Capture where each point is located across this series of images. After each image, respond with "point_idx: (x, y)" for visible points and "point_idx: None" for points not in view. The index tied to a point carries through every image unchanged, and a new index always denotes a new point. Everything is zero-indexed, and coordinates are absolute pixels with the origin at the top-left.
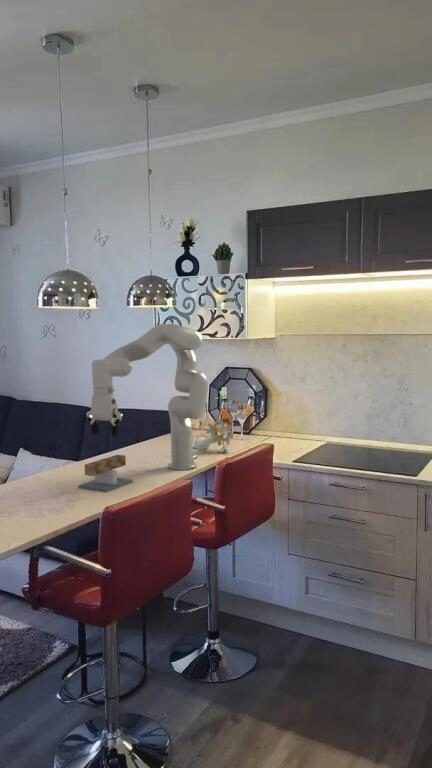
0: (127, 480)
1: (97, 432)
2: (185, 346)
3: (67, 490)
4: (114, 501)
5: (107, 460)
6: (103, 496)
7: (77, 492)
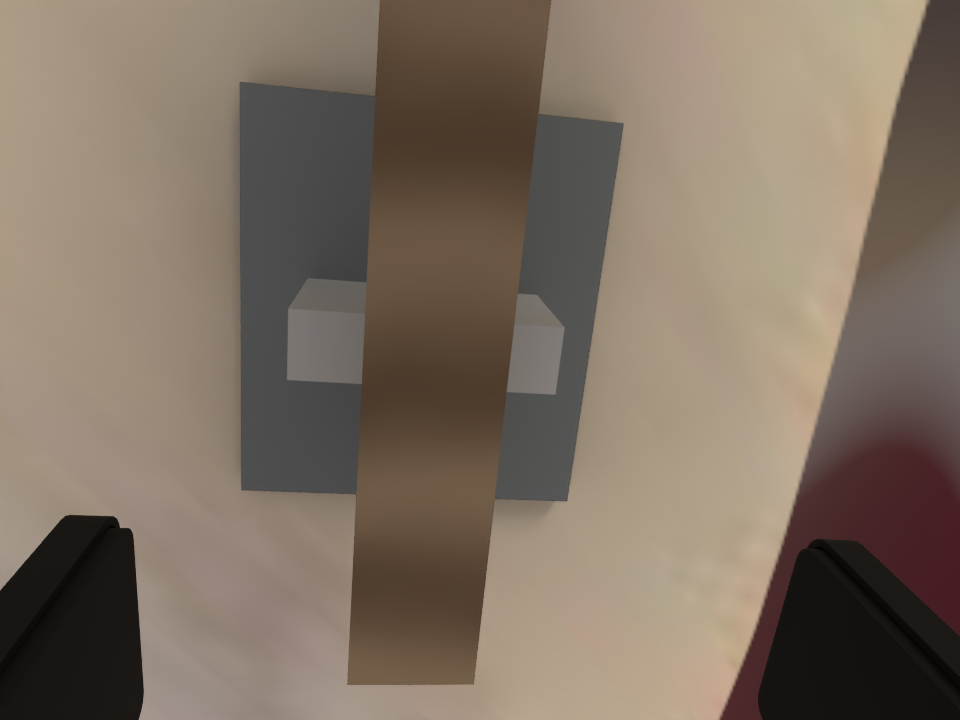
0: (586, 169)
1: (124, 594)
2: None
3: (214, 569)
4: (736, 645)
5: (482, 410)
6: (599, 587)
7: (338, 581)
